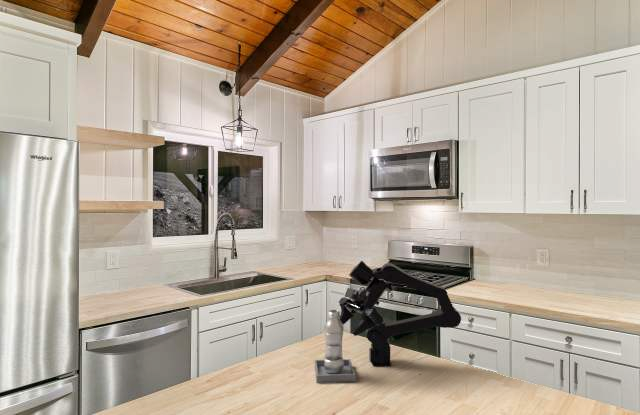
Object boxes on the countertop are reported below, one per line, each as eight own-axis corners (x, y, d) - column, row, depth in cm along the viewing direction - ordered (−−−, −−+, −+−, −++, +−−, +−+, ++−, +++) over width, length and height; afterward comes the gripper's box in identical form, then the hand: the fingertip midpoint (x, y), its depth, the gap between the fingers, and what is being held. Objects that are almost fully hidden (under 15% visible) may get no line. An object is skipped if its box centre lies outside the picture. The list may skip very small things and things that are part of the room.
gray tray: (350, 365, 140) (350, 359, 139) (355, 381, 127) (355, 374, 127) (314, 366, 139) (314, 360, 139) (316, 382, 127) (316, 375, 127)
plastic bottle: (347, 370, 134) (347, 310, 134) (337, 378, 129) (337, 315, 128) (330, 366, 138) (330, 307, 137) (320, 373, 132) (320, 312, 132)
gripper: (343, 274, 145) (316, 309, 140) (377, 284, 130) (348, 324, 124) (360, 293, 150) (335, 328, 144) (395, 305, 134) (368, 345, 128)
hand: (345, 331), depth 135 cm, fingers open, 9 cm apart
